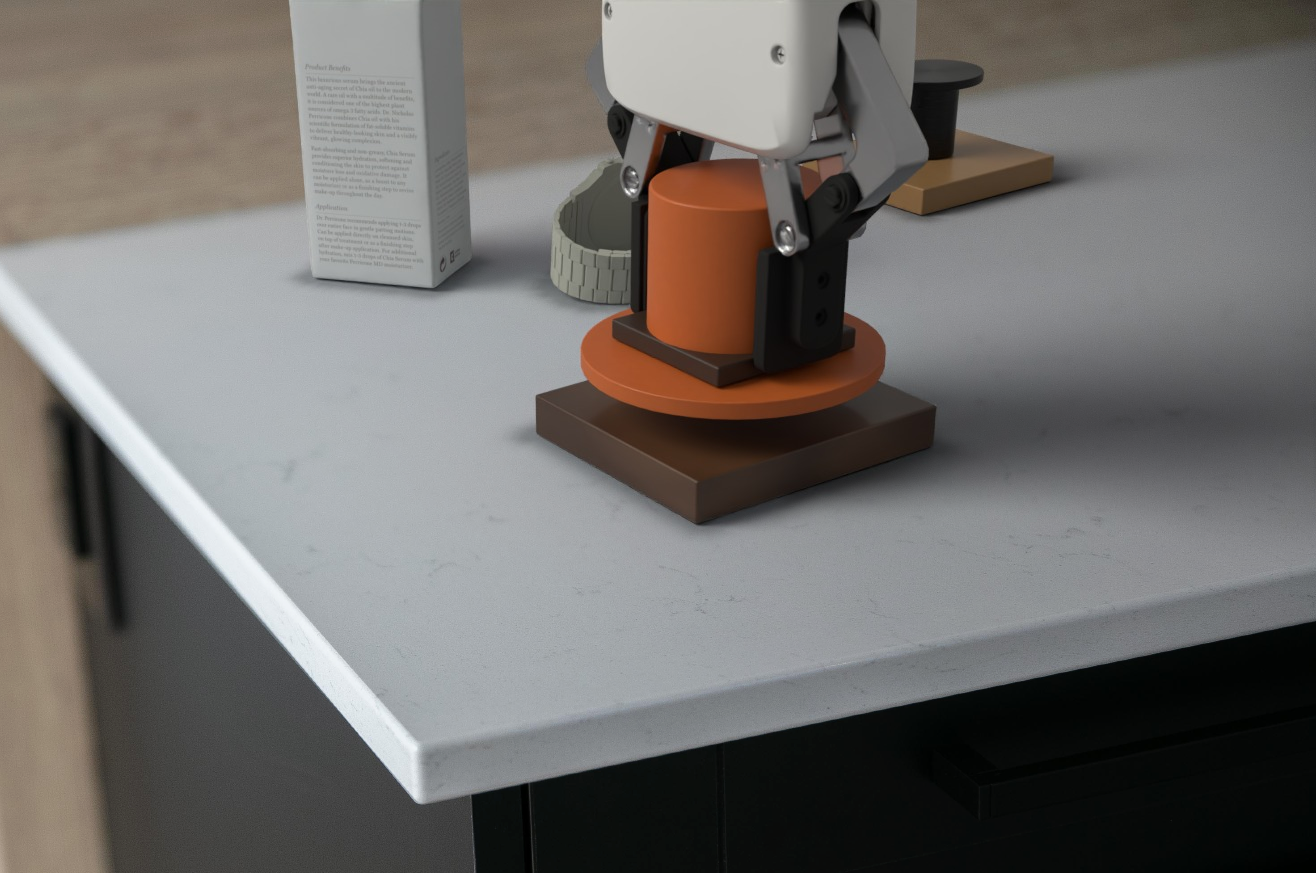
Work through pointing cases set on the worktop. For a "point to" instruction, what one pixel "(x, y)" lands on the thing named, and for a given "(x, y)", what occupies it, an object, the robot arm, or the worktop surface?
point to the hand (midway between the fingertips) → (732, 329)
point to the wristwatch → (594, 238)
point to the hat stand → (959, 147)
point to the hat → (715, 310)
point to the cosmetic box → (383, 138)
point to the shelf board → (731, 445)
